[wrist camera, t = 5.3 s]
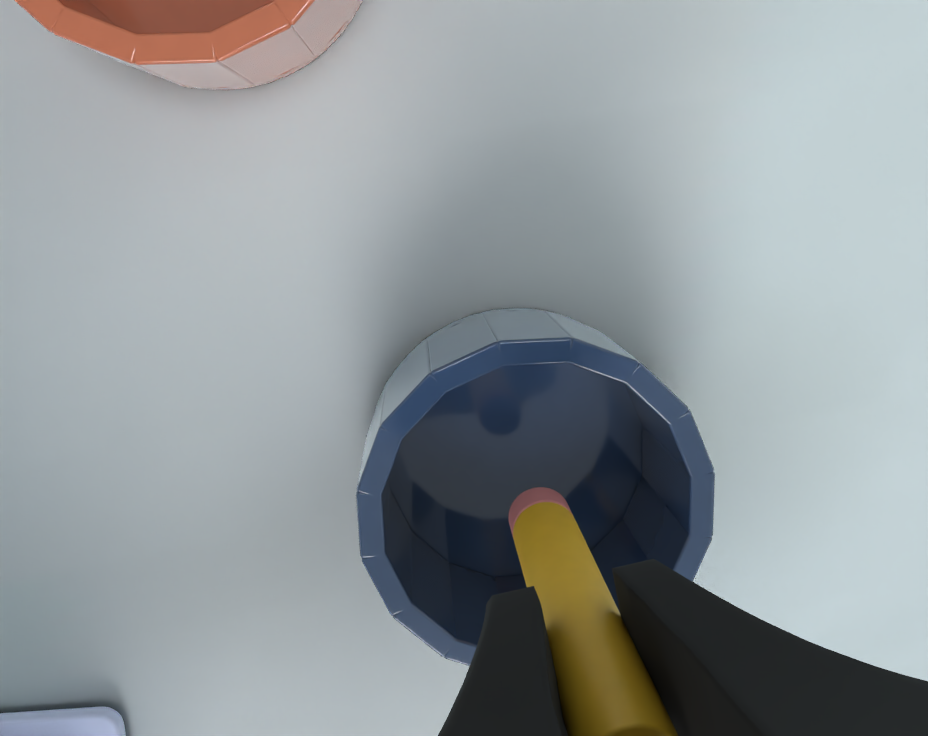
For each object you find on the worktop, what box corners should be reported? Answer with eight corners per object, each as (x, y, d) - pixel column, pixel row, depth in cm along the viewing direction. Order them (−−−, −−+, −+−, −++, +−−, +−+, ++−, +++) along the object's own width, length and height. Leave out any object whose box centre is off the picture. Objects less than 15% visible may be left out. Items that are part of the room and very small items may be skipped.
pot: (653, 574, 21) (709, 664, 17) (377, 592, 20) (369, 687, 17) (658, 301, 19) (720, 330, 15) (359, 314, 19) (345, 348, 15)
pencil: (569, 541, 16) (714, 876, 8) (508, 544, 16) (597, 884, 8) (568, 483, 16) (717, 773, 8) (507, 487, 16) (597, 782, 8)
